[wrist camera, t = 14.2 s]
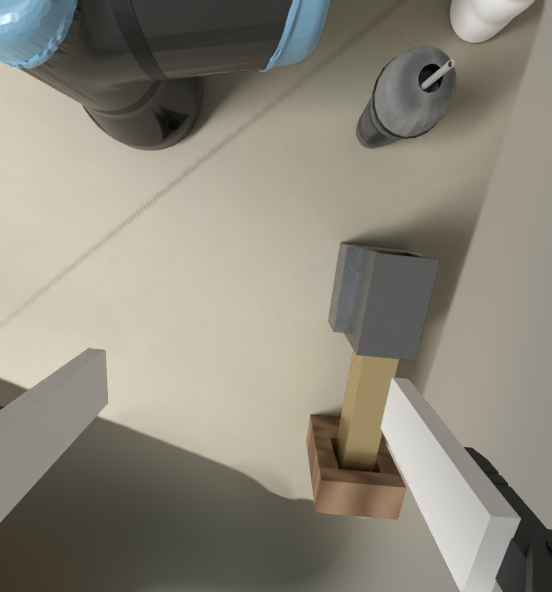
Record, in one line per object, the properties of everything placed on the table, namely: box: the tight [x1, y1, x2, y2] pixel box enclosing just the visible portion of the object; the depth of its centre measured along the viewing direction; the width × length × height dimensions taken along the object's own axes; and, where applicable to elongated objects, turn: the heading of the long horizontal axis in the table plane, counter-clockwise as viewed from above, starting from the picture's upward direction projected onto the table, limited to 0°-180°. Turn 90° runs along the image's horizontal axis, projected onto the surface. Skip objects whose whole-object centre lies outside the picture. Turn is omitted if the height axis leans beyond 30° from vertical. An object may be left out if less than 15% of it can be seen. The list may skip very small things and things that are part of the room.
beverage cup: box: [356, 46, 456, 149], centre depth 30 cm, size 7×7×20 cm
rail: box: [334, 350, 399, 472], centre depth 41 cm, size 4×22×4 cm, turn 174°
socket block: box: [306, 415, 406, 519], centre depth 45 cm, size 11×5×13 cm, turn 84°
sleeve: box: [328, 243, 440, 361], centre depth 39 cm, size 10×12×12 cm
